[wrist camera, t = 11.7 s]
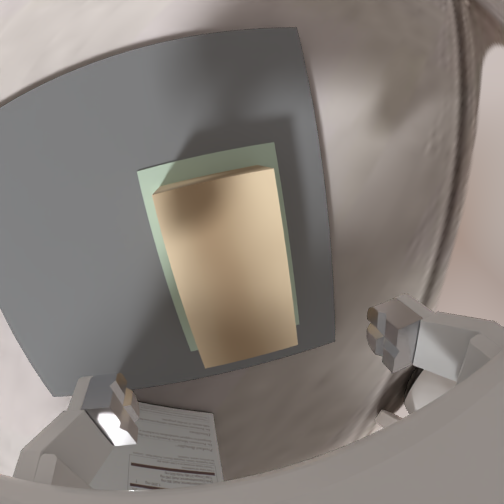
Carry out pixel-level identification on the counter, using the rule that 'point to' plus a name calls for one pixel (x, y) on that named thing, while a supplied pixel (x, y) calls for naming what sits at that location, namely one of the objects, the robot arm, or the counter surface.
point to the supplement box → (164, 453)
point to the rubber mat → (150, 201)
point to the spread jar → (418, 394)
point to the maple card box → (229, 262)
